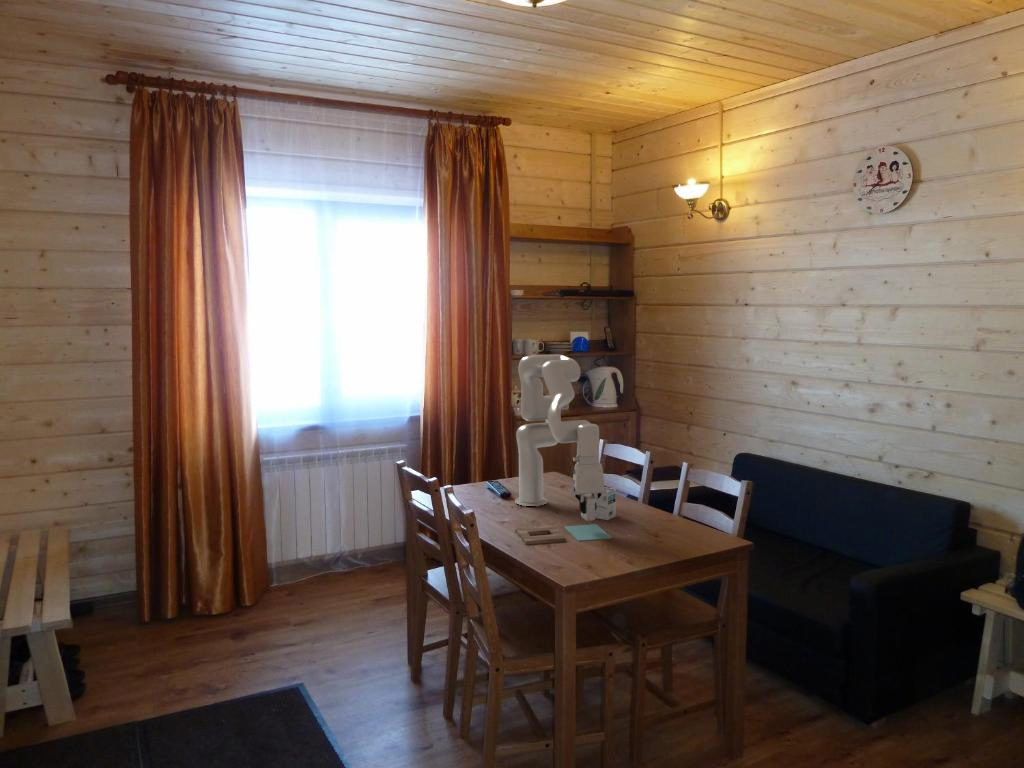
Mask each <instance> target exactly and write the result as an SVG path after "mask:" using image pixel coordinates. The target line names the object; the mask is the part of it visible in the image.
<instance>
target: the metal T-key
mask: <svg viewBox="0 0 1024 768" xmlns="http://www.w3.org/2000/svg"><path fill="white" fill-rule="evenodd" d="M584 502H585V514H583V513H582V512H581V511H580V516H581V518H583V520H585V521H587V522H588V521H589V522H590V521H595V520H596V518H595V503H597V498H595V497H594V496H593V495H591V494H584Z"/></svg>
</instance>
